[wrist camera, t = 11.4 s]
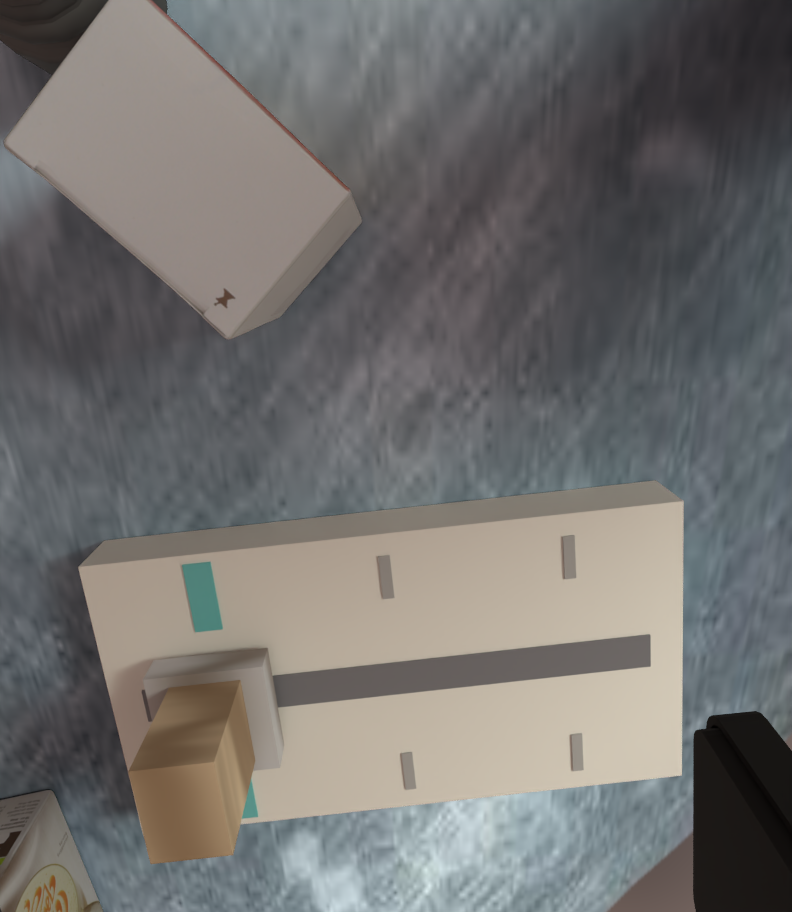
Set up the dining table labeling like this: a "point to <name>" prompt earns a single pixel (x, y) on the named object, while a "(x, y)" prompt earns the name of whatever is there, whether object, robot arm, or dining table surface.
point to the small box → (185, 168)
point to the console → (422, 642)
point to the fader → (203, 750)
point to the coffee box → (41, 859)
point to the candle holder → (48, 27)
